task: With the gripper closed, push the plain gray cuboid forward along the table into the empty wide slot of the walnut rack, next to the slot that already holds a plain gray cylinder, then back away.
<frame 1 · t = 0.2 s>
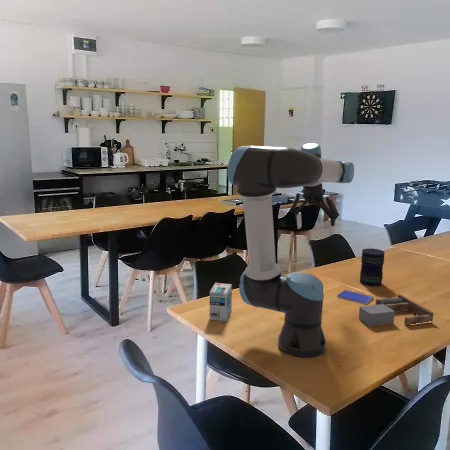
hand: (315, 229, 189), 28 cm above the table, tool tilted 20°, fingers open, 13 cm apart
light bulb box: (220, 315, 171), on the table
rack: (402, 314, 173), on the table
plain gray cuboid: (375, 321, 167), on the table
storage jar: (370, 283, 208), on the table
hard drive: (355, 299, 190), on the table
plain gray cylinder: (391, 308, 179), resting in rack
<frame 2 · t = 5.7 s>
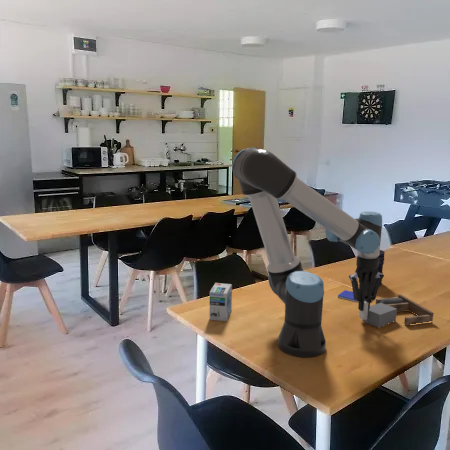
hand: (363, 318, 166), 2 cm above the table, tool pointing down, fingers closed
plain gray cuboid: (379, 321, 167), on the table
everything else where it was.
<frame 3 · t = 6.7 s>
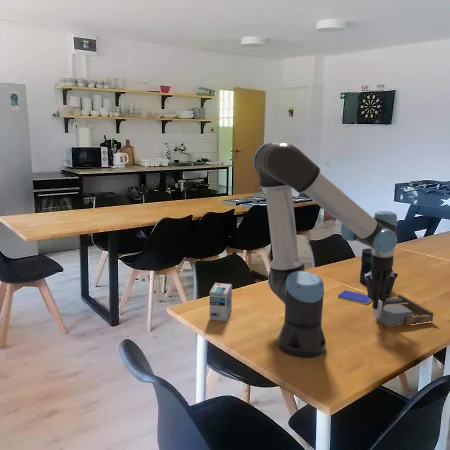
hand: (377, 316, 167), 2 cm above the table, tool pointing down, fingers closed
plain gray cuboid: (393, 321, 167), on the table
everything else where it was.
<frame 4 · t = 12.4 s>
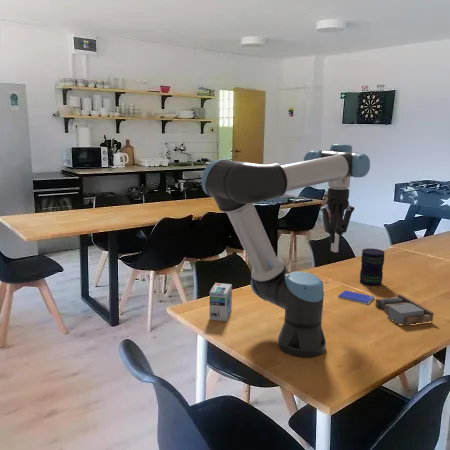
hand: (334, 251, 169), 24 cm above the table, tool pointing down, fingers closed
plain gray cuboid: (404, 320, 168), on the table
everything else where it was.
at the end: plain gray cuboid inside the target area (2.0 cm from its centre), on the table; plain gray cylinder inside the target area (0.0 cm from its centre), resting in rack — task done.
